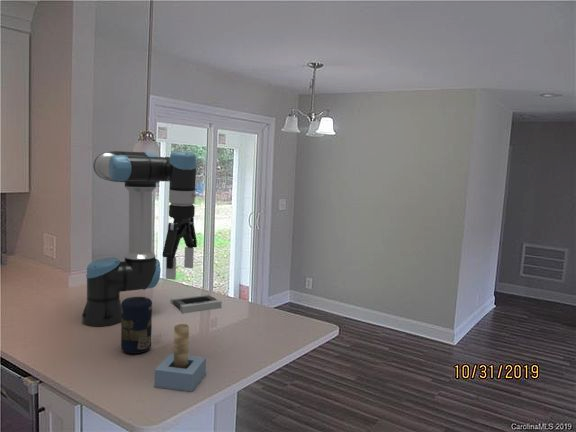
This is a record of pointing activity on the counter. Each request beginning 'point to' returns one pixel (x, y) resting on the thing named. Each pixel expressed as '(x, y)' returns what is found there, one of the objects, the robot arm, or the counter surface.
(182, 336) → the dowel
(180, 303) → the gray rectangular tray
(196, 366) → the socket block
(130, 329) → the canister
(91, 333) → the counter surface
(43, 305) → the counter surface
